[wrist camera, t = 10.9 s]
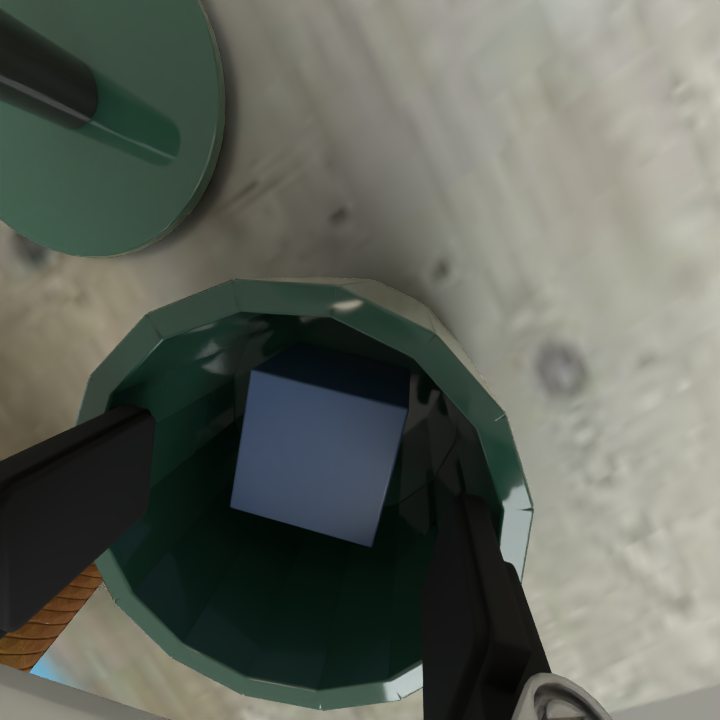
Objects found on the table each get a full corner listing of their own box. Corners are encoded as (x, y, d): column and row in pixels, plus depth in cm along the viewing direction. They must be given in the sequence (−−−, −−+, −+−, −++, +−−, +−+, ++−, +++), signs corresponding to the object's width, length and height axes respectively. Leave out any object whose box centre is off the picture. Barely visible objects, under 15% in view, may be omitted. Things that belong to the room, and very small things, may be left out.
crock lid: (-9, -131, 15) (-335, -445, 8) (279, 5, 15) (171, -212, 8) (-58, 186, 18) (-325, 137, 11) (178, 304, 18) (41, 322, 11)
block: (278, 445, 18) (228, 507, 13) (297, 341, 17) (249, 368, 12) (383, 473, 18) (372, 549, 13) (411, 369, 16) (410, 408, 11)
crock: (279, 231, 16) (141, 188, 8) (524, 352, 16) (640, 433, 8) (193, 451, 19) (27, 584, 11) (400, 556, 19) (389, 774, 11)
